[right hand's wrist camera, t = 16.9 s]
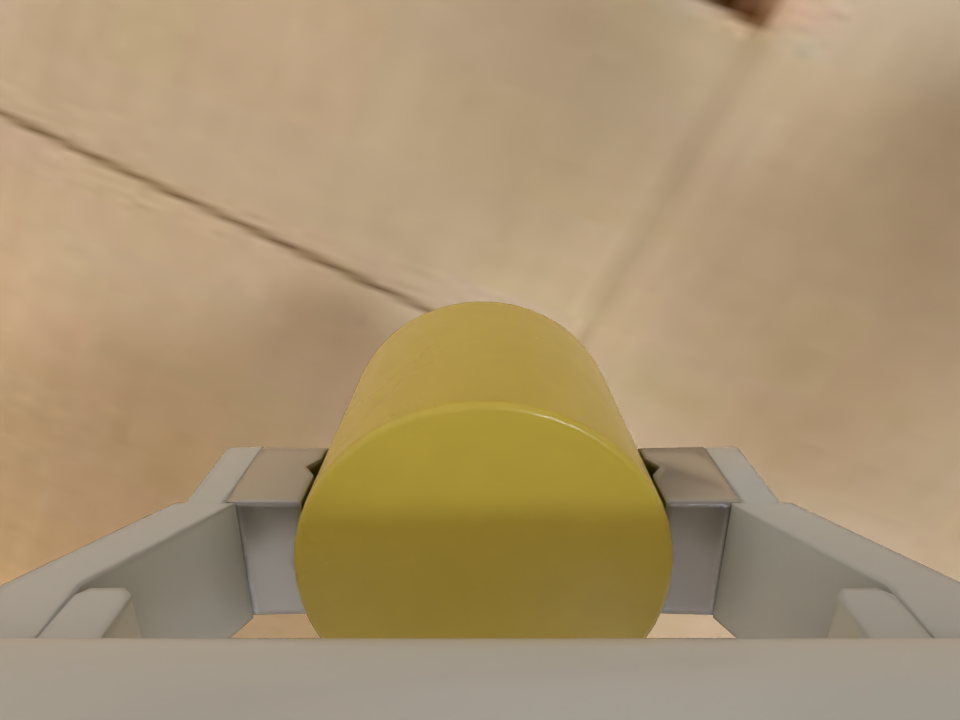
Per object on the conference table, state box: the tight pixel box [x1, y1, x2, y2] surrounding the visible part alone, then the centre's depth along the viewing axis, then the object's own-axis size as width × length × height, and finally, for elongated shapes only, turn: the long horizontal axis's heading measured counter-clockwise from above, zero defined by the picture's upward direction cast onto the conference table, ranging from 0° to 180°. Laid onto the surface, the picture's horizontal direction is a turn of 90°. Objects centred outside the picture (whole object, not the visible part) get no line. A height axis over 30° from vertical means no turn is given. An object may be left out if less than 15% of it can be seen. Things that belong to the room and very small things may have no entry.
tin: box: [294, 302, 673, 638], centre depth 10 cm, size 5×5×4 cm
